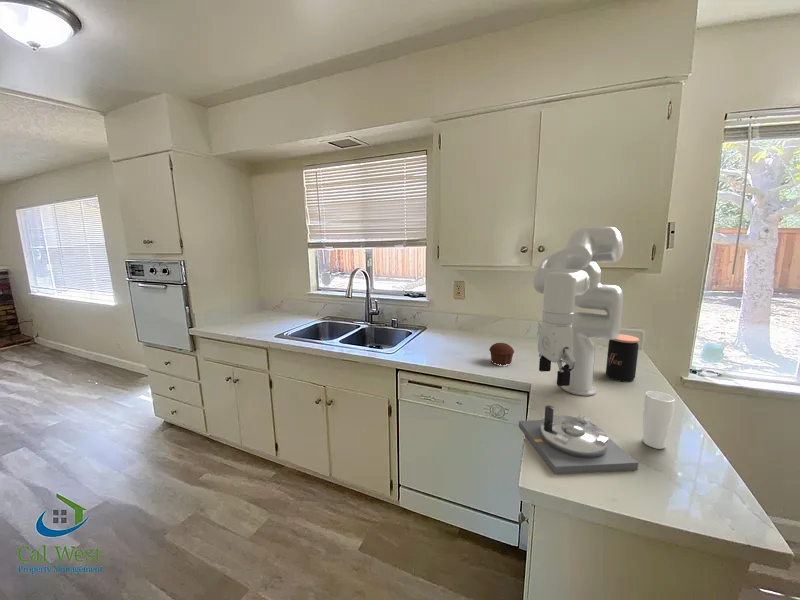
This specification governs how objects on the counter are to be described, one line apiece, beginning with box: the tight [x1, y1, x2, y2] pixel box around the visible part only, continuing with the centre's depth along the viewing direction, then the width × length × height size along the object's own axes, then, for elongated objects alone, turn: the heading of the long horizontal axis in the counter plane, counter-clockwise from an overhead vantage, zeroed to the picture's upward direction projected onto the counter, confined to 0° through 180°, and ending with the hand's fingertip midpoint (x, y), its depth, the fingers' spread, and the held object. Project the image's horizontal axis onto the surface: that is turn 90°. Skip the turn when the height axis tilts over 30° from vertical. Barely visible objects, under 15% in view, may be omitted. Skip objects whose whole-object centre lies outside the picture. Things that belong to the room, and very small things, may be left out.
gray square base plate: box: [518, 419, 639, 475], centre depth 95 cm, size 22×22×2 cm
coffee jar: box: [605, 333, 640, 382], centre depth 141 cm, size 11×11×18 cm
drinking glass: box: [642, 390, 676, 450], centre depth 94 cm, size 7×7×15 cm
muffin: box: [488, 342, 515, 365], centre depth 160 cm, size 12×11×10 cm
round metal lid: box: [540, 404, 610, 457], centre depth 94 cm, size 17×17×10 cm
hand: (553, 377), depth 91 cm, fingers open, 9 cm apart
